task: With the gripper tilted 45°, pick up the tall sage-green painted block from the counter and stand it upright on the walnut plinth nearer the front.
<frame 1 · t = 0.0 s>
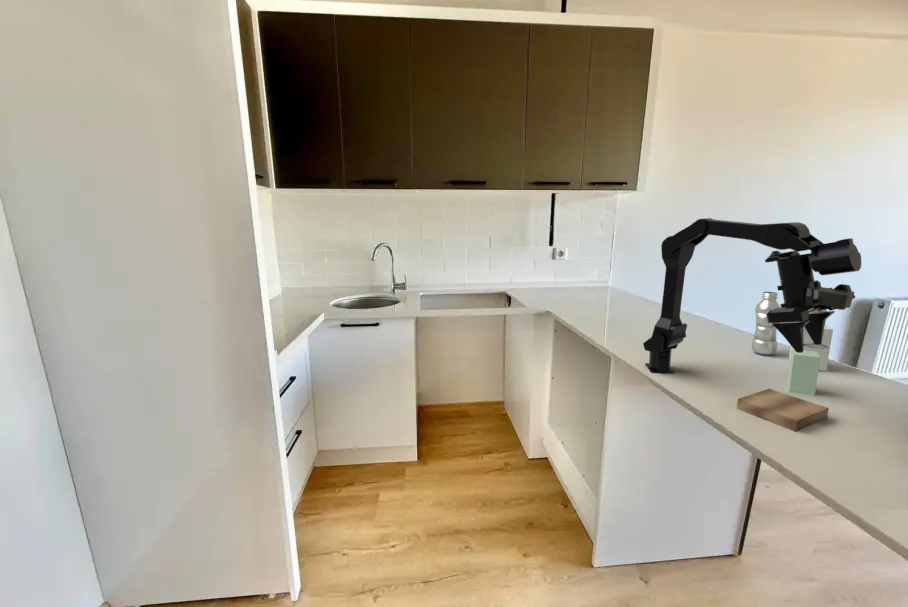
hand: (809, 348, 90), 15 cm above the countertop, tool pointing down, fingers open, 9 cm apart
supplement box: (806, 366, 120), on the countertop
sage block: (800, 390, 105), on the countertop
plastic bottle: (763, 354, 132), on the countertop
walnut plinth: (780, 413, 94), on the countertop
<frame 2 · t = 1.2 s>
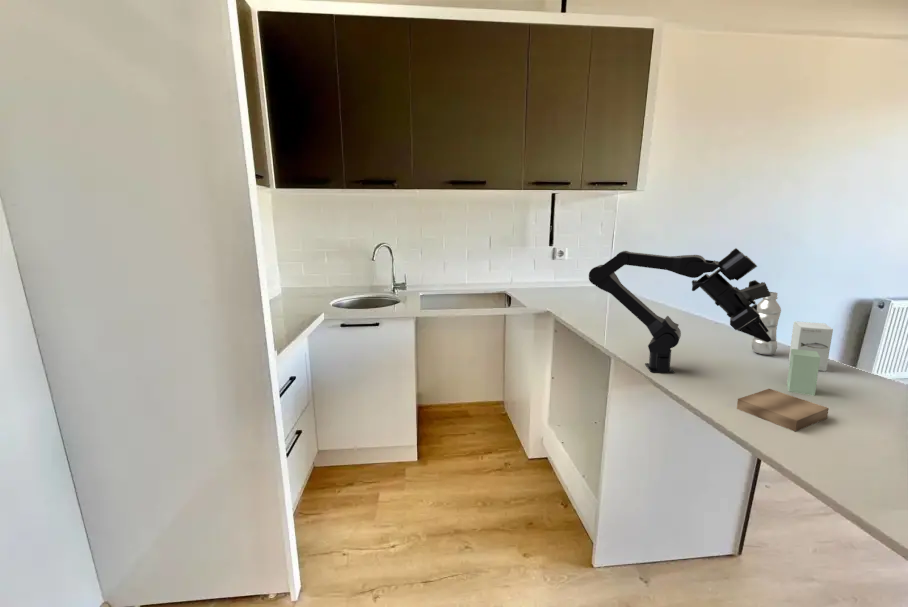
hand: (768, 336, 107), 13 cm above the countertop, tool tilted 45°, fingers open, 9 cm apart
nothing on the countertop moved.
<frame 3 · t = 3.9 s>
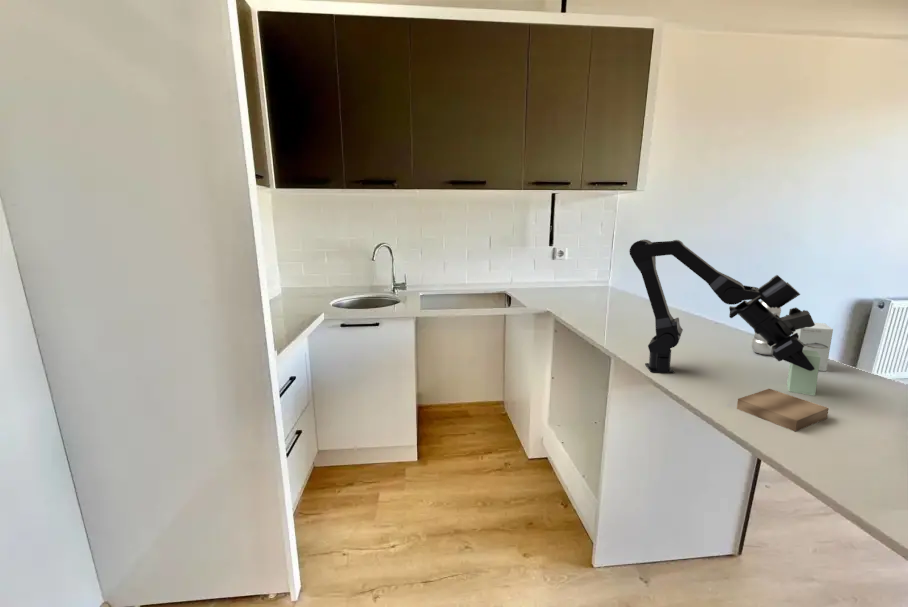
hand: (810, 366, 103), 7 cm above the countertop, tool tilted 45°, fingers closed on sage block, 5 cm apart
sage block: (800, 389, 105), on the countertop, touching gripper
everything else where it was.
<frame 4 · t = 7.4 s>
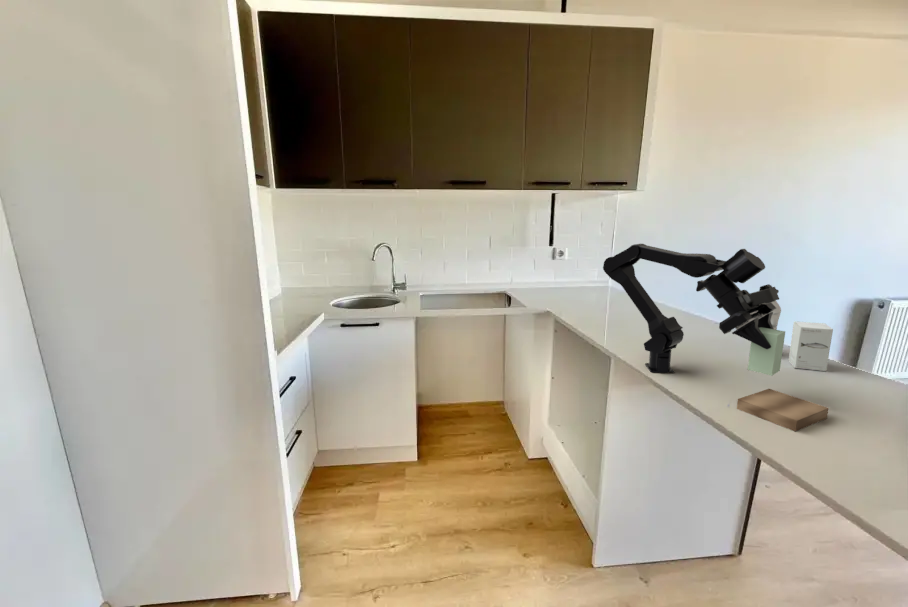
hand: (773, 345, 98), 14 cm above the countertop, tool tilted 45°, fingers closed on sage block, 5 cm apart
sage block: (763, 370, 100), point 7 cm above the countertop, touching gripper
everything else where it was.
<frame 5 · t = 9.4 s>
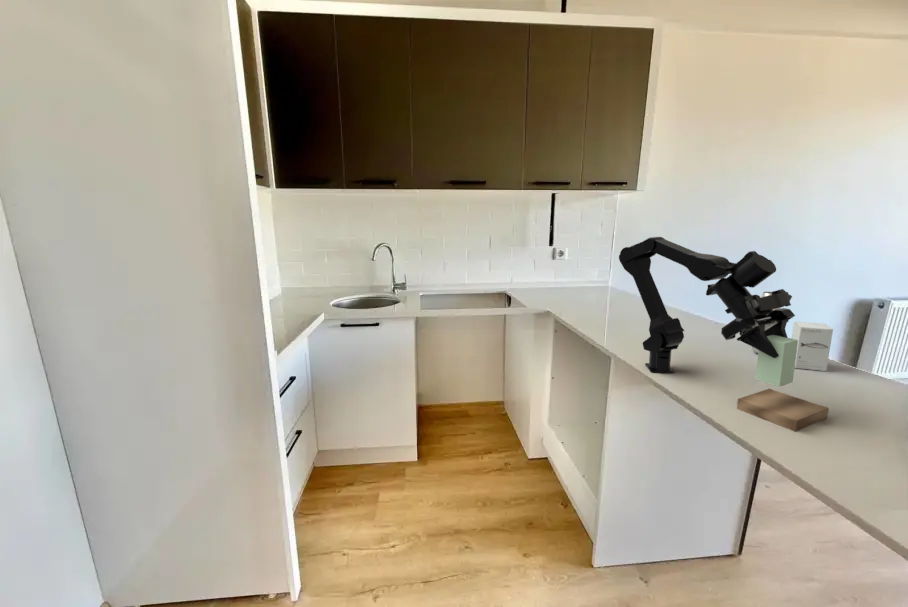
hand: (783, 355, 92), 14 cm above the countertop, tool tilted 45°, fingers closed on sage block, 5 cm apart
sage block: (773, 380, 94), point 7 cm above the countertop, touching gripper
everything else where it was.
when the fingers open (10 cm above the countertop, at t = 11.1 s): sage block stays where it is, resting on walnut plinth.
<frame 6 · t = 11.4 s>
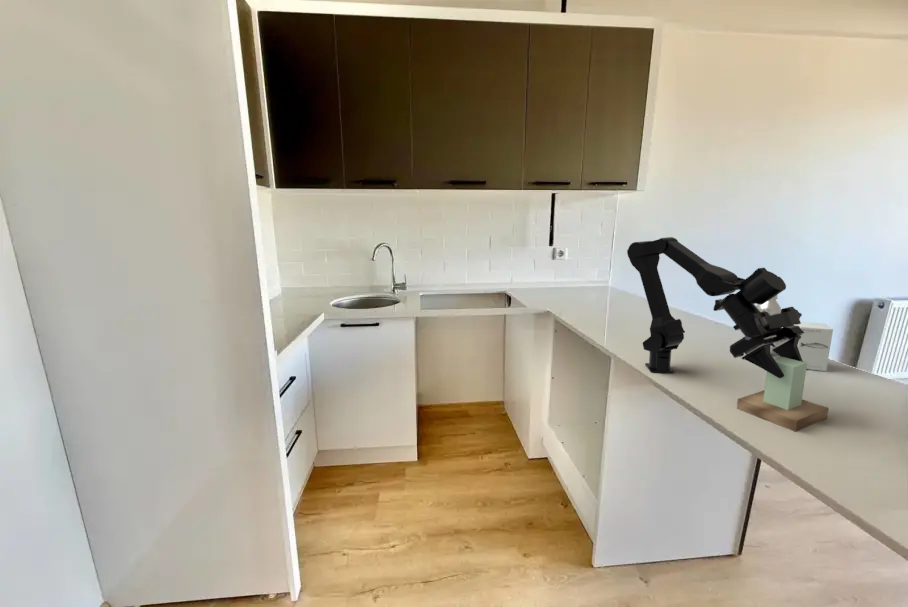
hand: (793, 373, 90), 10 cm above the countertop, tool tilted 45°, fingers open, 8 cm apart
sage block: (781, 403, 93), point 2 cm above the countertop, touching walnut plinth
everything else where it was.
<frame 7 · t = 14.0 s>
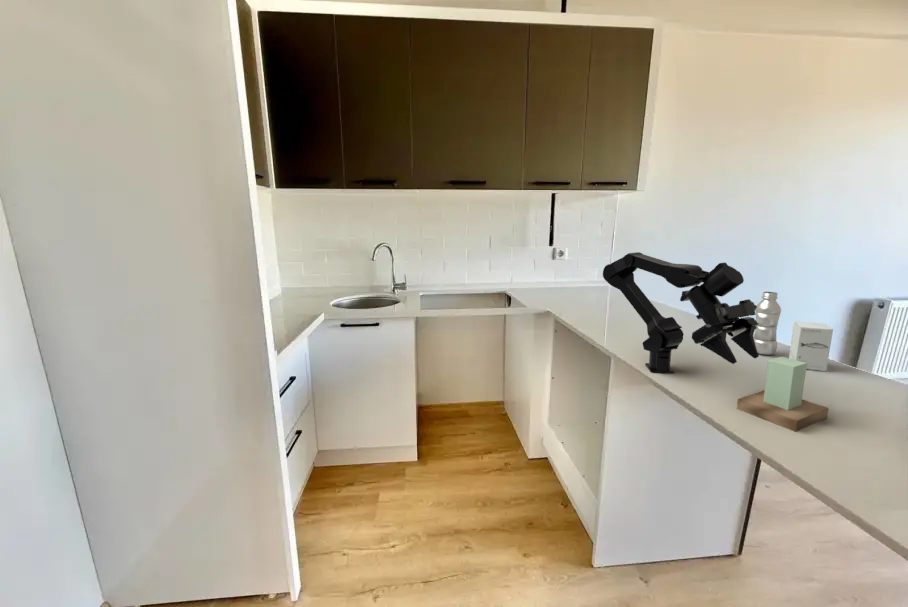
hand: (746, 360, 99), 10 cm above the countertop, tool tilted 40°, fingers open, 9 cm apart
nothing on the countertop moved.
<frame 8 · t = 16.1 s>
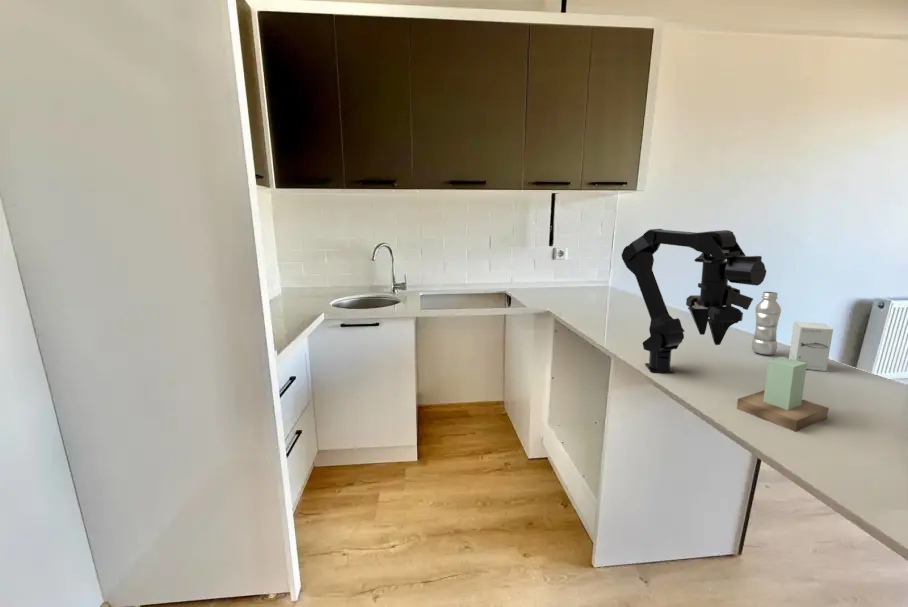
hand: (709, 339, 107), 13 cm above the countertop, tool pointing down, fingers open, 9 cm apart
nothing on the countertop moved.
at the end: sage block inside the target area on the walnut plinth (0.0 cm from its centre), point 2.5 cm above the walnut plinth's base; sage block tilted 0°; the gripper is holding nothing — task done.
